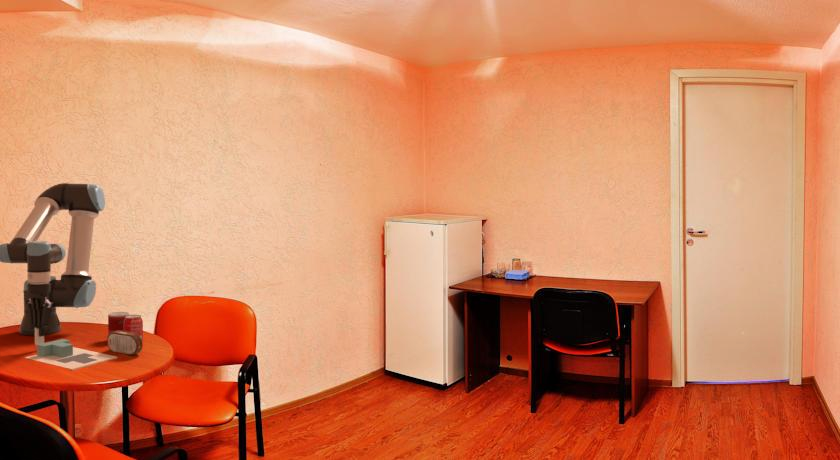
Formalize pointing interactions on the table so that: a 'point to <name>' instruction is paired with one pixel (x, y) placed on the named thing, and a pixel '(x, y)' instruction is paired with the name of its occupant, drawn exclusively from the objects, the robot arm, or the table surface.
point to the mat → (75, 359)
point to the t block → (55, 348)
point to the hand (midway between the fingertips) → (39, 344)
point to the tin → (124, 342)
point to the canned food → (116, 321)
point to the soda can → (134, 325)
